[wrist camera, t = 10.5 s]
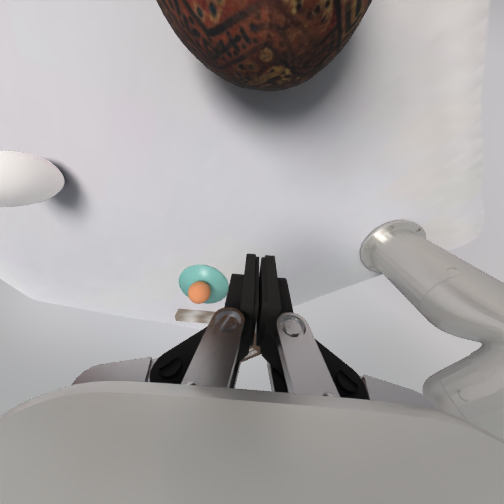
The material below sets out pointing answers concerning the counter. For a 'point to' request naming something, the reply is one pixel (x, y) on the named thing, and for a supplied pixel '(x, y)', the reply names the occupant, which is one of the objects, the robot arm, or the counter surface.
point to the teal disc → (208, 276)
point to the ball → (199, 292)
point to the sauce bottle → (27, 179)
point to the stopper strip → (194, 316)
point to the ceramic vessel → (264, 36)
